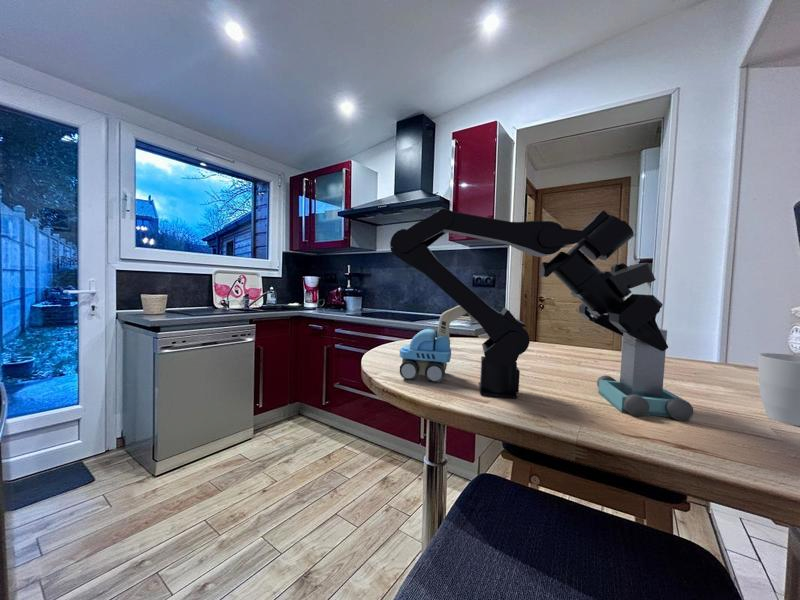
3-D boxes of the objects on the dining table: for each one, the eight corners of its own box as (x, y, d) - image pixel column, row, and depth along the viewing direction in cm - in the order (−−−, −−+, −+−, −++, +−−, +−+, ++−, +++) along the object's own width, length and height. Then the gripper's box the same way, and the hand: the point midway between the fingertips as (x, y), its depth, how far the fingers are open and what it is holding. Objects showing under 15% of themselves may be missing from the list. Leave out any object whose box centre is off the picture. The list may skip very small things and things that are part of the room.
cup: (851, 436, 46) (859, 368, 45) (776, 426, 49) (783, 362, 48) (802, 414, 54) (808, 355, 53) (740, 407, 56) (745, 351, 56)
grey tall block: (631, 404, 55) (636, 329, 54) (618, 395, 59) (623, 325, 58) (661, 407, 54) (667, 330, 53) (646, 397, 58) (651, 326, 57)
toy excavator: (476, 387, 64) (480, 301, 63) (395, 380, 67) (396, 298, 66) (476, 375, 72) (479, 299, 71) (403, 369, 76) (405, 296, 74)
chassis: (625, 415, 51) (626, 395, 51) (595, 390, 63) (596, 374, 63) (693, 422, 50) (695, 401, 49) (650, 395, 61) (651, 378, 61)
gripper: (651, 239, 46) (735, 319, 45) (599, 251, 65) (657, 308, 63) (588, 292, 49) (666, 369, 47) (555, 289, 67) (610, 345, 65)
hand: (649, 343), depth 56 cm, fingers open, 9 cm apart
